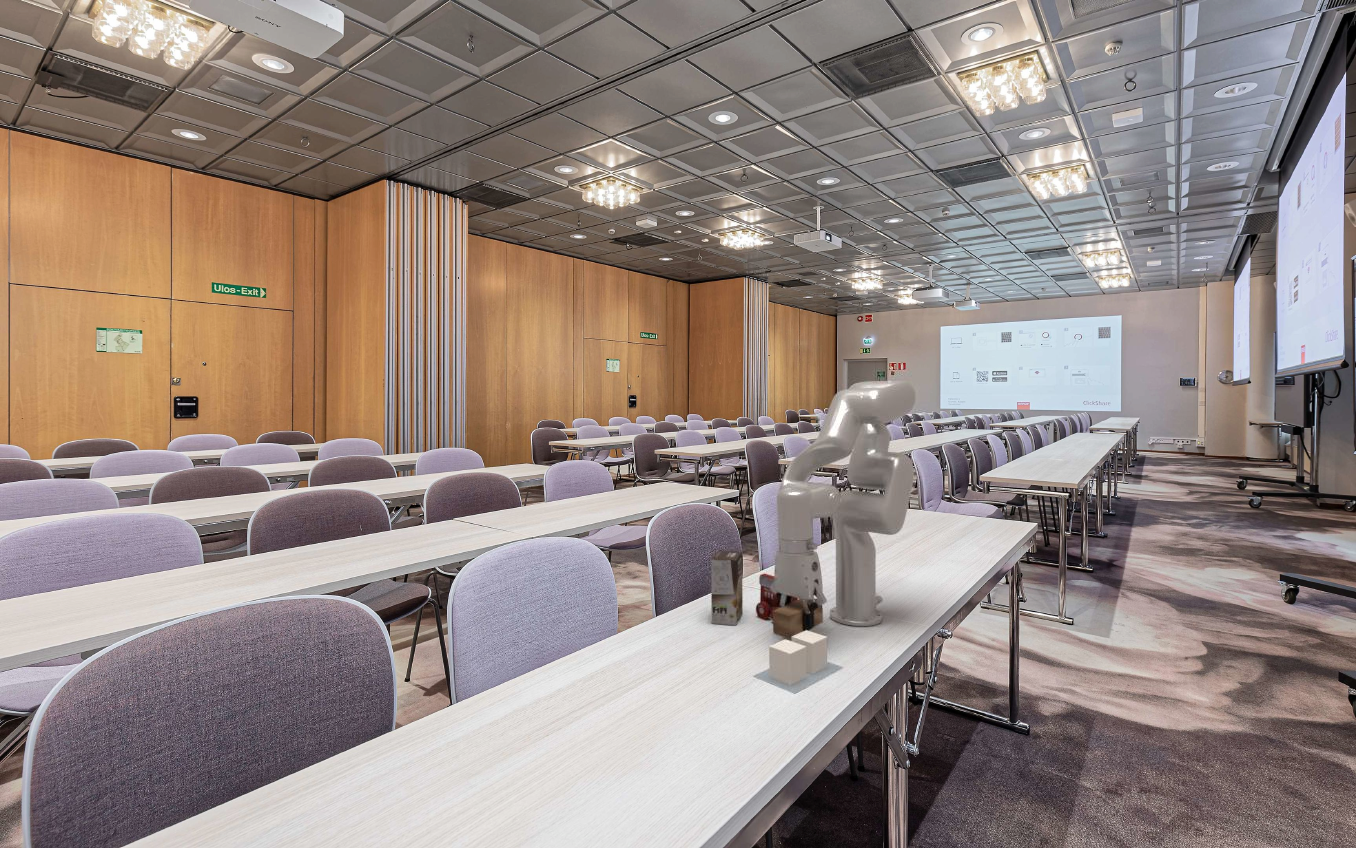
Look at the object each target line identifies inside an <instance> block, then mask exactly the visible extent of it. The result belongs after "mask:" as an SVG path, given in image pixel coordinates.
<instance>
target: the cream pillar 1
mask: <svg viewBox="0 0 1356 848" xmlns="http://www.w3.org/2000/svg"><path fill="white" fill-rule="evenodd" d="M768 649H769V650H768V651H769V654H768V656H769V663H768V665H769V668H768V669H769V677H771V678H773V679H776V680H778V681H780V682H783V683H785V684H788V685H790V686H791V685H793V684H795V683H797V682H798V681H800V680H802V679H804V678H806V646H803V645H801V644H798V643H795V642H792V640H790V639H789V640H788V639H787V638H785V639H783V640H781V641H779V642H776V643H773V644H771V645H768Z"/></svg>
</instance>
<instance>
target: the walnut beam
mask: <svg viewBox="0 0 1356 848" xmlns="http://www.w3.org/2000/svg"><path fill="white" fill-rule="evenodd" d="M814 600H815V601H817V598H816V597H814ZM808 602H809V601H808ZM809 606H810V604H809ZM823 612H824V611H823V604H822V605H821V606H819V607H818V608H817V609H816V611H814V628H815V627H816V626H817V627H818V626H819V625H820V624H822V623H824V613H823ZM803 613H805V611H804V607H803V602H802V599H798V600H796V601H794V602H791V603H789V604H787V605H785V606H783V607H780V608H778V609H776V610H774V611H773V621H772V627H773V628H772V629H773V632H772V633H773V635H776V636H779V637H783V638H785V639H787V640H788V639H789V640H792V636H794V635H797V634H799V633H801V632H803Z"/></svg>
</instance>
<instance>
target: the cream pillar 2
mask: <svg viewBox="0 0 1356 848" xmlns="http://www.w3.org/2000/svg"><path fill="white" fill-rule="evenodd" d="M791 641H792V642H795V643H798V644H801V645H803V646H806V672H808V673H811V674H814V673H816V672H818V671H820V670H822V669H823V668H825V667H827V662H828V636H825V635H822V634H820V633H817V632H813V631H811V630H809V631H807V630H806V631H803V632H801V633H799V634H797V635H794V636H792V639H791Z"/></svg>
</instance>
